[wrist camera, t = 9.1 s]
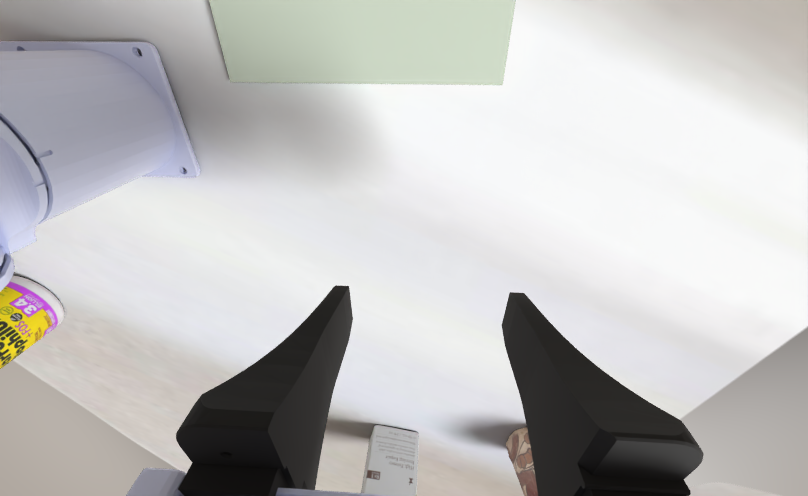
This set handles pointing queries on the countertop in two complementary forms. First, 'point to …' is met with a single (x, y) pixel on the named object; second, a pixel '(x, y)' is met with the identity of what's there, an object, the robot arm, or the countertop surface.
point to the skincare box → (391, 462)
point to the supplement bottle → (25, 316)
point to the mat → (365, 41)
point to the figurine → (522, 460)
